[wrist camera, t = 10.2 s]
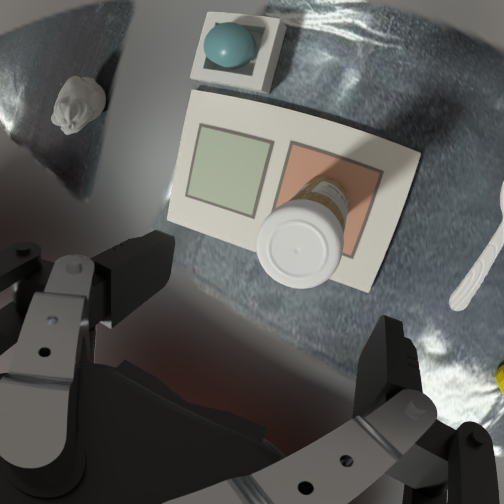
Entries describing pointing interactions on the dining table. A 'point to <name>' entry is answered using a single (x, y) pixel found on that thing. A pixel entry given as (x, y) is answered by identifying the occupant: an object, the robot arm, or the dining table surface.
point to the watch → (500, 378)
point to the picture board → (286, 176)
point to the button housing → (262, 64)
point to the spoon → (479, 267)
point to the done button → (229, 45)
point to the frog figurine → (78, 104)
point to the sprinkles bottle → (305, 235)
